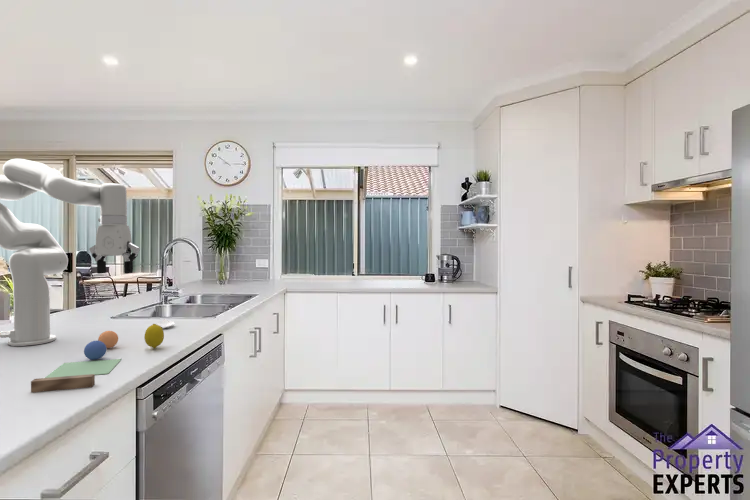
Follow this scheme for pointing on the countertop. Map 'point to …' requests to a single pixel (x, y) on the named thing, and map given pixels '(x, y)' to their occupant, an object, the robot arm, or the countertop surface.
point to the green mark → (84, 368)
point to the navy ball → (95, 350)
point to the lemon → (154, 336)
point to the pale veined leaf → (166, 323)
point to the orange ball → (108, 338)
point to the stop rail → (62, 383)
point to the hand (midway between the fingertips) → (115, 273)
